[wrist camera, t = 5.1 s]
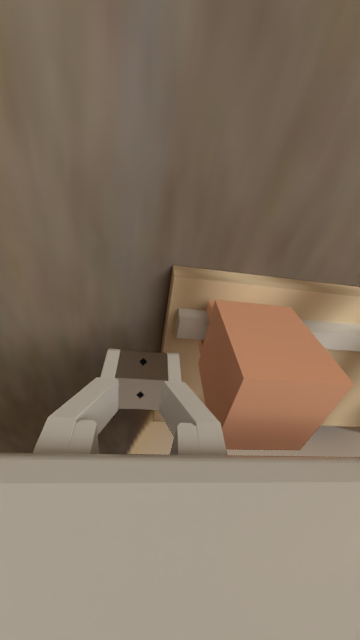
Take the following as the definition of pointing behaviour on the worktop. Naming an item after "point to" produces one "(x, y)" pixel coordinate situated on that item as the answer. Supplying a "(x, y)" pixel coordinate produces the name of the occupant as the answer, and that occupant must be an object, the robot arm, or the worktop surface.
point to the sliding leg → (266, 376)
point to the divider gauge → (302, 296)
